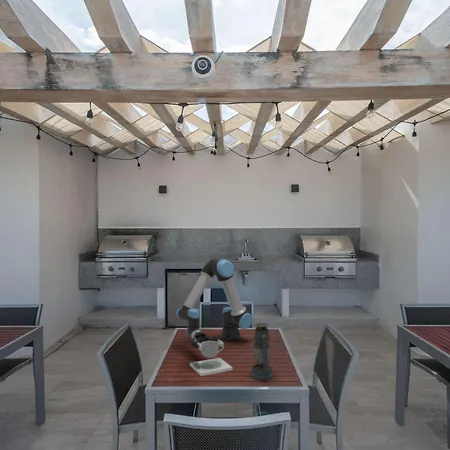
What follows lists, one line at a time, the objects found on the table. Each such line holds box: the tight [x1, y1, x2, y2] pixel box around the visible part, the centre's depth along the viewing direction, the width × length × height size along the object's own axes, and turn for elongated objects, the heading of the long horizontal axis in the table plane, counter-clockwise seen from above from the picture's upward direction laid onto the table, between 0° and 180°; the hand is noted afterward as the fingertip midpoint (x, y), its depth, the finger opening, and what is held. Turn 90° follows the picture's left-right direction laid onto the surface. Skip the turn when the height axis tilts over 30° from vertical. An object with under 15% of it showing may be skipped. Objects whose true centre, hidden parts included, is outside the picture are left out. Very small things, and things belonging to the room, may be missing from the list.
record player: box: [189, 357, 233, 377], centre depth 229 cm, size 20×18×4 cm
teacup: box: [200, 341, 225, 359], centre depth 226 cm, size 14×11×8 cm
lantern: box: [250, 322, 279, 381], centre depth 216 cm, size 19×14×30 cm
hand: (212, 346), depth 225 cm, fingers closed on teacup, 13 cm apart
